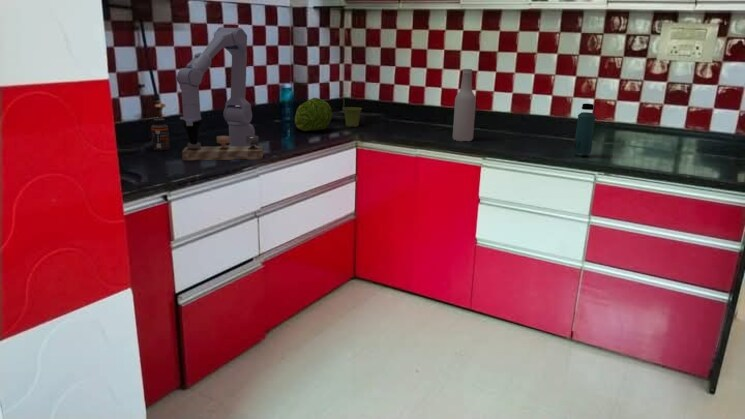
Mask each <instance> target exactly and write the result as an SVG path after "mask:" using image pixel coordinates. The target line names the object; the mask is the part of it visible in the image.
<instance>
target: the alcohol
mask: <svg viewBox="0 0 745 419" xmlns="http://www.w3.org/2000/svg"><path fill="white" fill-rule="evenodd" d="M472 82H473V69H471V68H463V69H462V77H461V85H460V89H459V92H457V94H456V96H455V98H454V109H453V110H454V111H453V127H452V139H453V141H455V140H456V142H463V141H467V142H471V141H472V140H474V133H475V132H474V131H475V130H474V129H475V116H476V103H477V99H476V94H474V92H473V88H472V87H473V86H472V84H473V83H472Z"/></svg>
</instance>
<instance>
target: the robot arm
mask: <svg viewBox="0 0 745 419" xmlns="http://www.w3.org/2000/svg"><path fill="white" fill-rule="evenodd" d="M247 47H248V34H247V33H246V32H245V30H244V29H243V28H242V27H222V26H221V27H218V28H217V29H216V31H214V33H213V38H212V39H211V41H210V42H209V43H208V44H207V46H206V47H205V49H204V50H203V52H198V53H195V54H194V55H193V56H194V57H192V59H191V60H190V61H189V62H188V63H187V64H186V66H185V67H182V68H180V69H179V70H178V72H177V74H176V77H175V78H176V79H175V80H176V81H177V83H178V84H179V89H180V92H181V105H182V116H180V117H179V120H183V121H185V122H184V123H183V124H182V126H183V127H184V129H185V131H186V132H187V136H188V139H189V143H191V144H197V142H199V132H200V129H201V126H202V121H200V120H202V116H201V104H200V100H201V99H200V88H199V86H200V85H201V84H202V81H203V77H204V75H205V73H206V72H207V70H208V69H210V67H211V66H212V59H213V58H214V57H215V56H216V55H217V54H218V53H219V52H220V51H221V50H222V49H224V50H226V51H228V52H229V53H230V55H231V68H230V69H231V75H230V98H229V99H227V101H226V102H225V105H224V106H225V107H224V110H223V113H222V114H223V115H222V116H223V118H224V120H225V121H226V124H227V125H228V136H229V137H230V143H229V144H228V145H227V144H226V146H250V143H246V136H256V130H255V127H254V125H253V124H251V122H252V120H253V112H252V104H251V103H250V102H249V101H248V100H247V99H246V91H247V90H246V89H247V88H246V86H247V84H246V82H247V65H248V64H247V63H248V62H247V60H248V50H247ZM255 146H258V145H257V144H255Z"/></svg>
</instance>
